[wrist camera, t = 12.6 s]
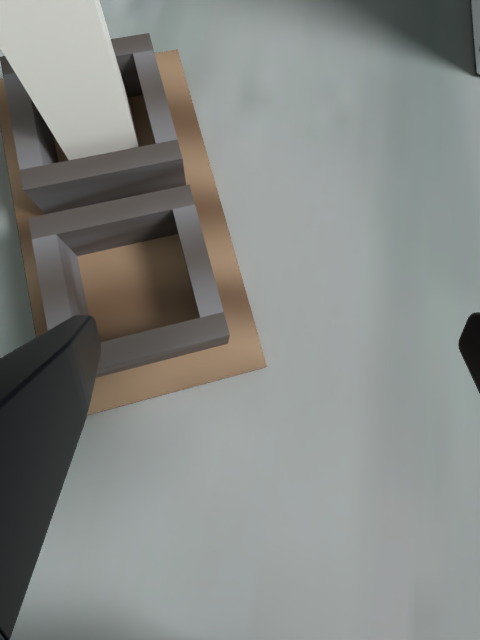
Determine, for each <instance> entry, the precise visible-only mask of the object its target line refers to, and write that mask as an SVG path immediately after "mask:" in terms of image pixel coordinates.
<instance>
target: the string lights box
mask: <svg viewBox="0 0 480 640" xmlns="http://www.w3.org/2000/svg"><path fill="white" fill-rule="evenodd" d="M471 5H472V18H473V32H474V44H475V57H476V70H477V73H478V74H479V75H480V0H471Z"/></svg>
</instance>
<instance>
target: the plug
mask: <svg viewBox="0 0 480 640" xmlns="http://www.w3.org/2000/svg"><path fill="white" fill-rule="evenodd" d="M0 49H1V50H2V52H3V54H4V55H5V57H6V59H7V60H8V62H9V63H10V65H11V67H12V68H13V70H14V72H15V73H16V75H17V77H18V78H19V80H20V81H21V83H22V85H23V86H24V88H25V90H26V91H27V93H28V94H29V96H30V98H31V99H32V101H33V103H34V104H35V106H36V108H37V109H38V111H39V112H40V114H41V116H42V117H43V119H44V121H45V122H46V124H47V126H48V127H49V129H50V130H51V132H52V134H53V135H54V137H55V139H56V140H57V142H58V143H59V145H60V147H61V148H62V150H63V152H64V153H65V155H66V157H67V158H68V160H74V159H79V158H84V157H89V156H94V155H99V154H105V153H110V152H115V151H120V150H125V149H130V148H136V147H140V145H139V141H138V137H137V132H136V128H135V124H134V120H133V115H132V111H131V108H130V104H129V101H128V97H127V94H126V90H125V87H124V84H123V80H122V77H121V73H120V70H119V66H118V63H117V60H116V56H115V53H114V49H113V46H112V42H111V39H110V36H109V32H108V29H107V25H106V22H105V18H104V15H103V12H102V8H101V5H100V1H99V0H0Z"/></svg>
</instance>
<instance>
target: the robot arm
mask: <svg viewBox="0 0 480 640" xmlns="http://www.w3.org/2000/svg"><path fill="white" fill-rule="evenodd" d="M459 350H460V352H461V354H462V357H463V359H464V361H465V363H466V365H467V367H468V369H469V372H470V374H471V376H472V378H473V380H474V382H475V384H476V387H477V389H478V391H479V393H480V312H477V313H473V314H471V315H470V316H469V318H468V320H467V322H466V325H465V327H464V329H463V332H462V334H461V336H460V339H459ZM100 354H101V344H100V339H99V335H98V330H97V325H96V321H95V319H94V317H93V316H91V315H75V316H72V317H71V318H69V319H67V320H66V321H64V322H62V323H60V324H59V325H57V326H55V327H54V328H52V329H50V330H48V331H47V332H45V333H43V334H41V335H40V336H38V337H36V338H35V339H33V340H31V341H29V342H28V343H26V344H24V345H23V346H21V347H19V348H17V349H16V350H14V351H12V352H11V353H9V354H7V355H5V356H4V357H2V358H0V640H10V637H11V634H12V631H13V628H14V626H15V623H16V620H17V617H18V614H19V611H20V608H21V605H22V602H23V600H24V597H25V594H26V591H27V588H28V585H29V582H30V579H31V576H32V573H33V571H34V568H35V565H36V562H37V559H38V556H39V553H40V550H41V547H42V545H43V542H44V539H45V536H46V533H47V530H48V527H49V524H50V521H51V519H52V516H53V513H54V510H55V507H56V504H57V501H58V498H59V495H60V493H61V490H62V487H63V484H64V481H65V478H66V475H67V472H68V469H69V466H70V464H71V461H72V458H73V455H74V452H75V449H76V446H77V443H78V440H79V438H80V435H81V432H82V429H83V426H84V423H85V420H86V417H87V414H88V411H89V407H90V402H91V398H92V393H93V388H94V384H95V379H96V374H97V369H98V364H99V359H100Z"/></svg>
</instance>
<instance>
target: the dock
mask: <svg viewBox="0 0 480 640" xmlns="http://www.w3.org/2000/svg"><path fill="white" fill-rule="evenodd" d="M111 42H112V46H113V49H114V53H115V56H116V60H117V63H118V66H119V70H120V73H121V77H122V80H123V84H124V87H125V90H126V94H127V97H128V101H129V104H130V108H131V111H132V115H133V120H134V124H135V128H136V132H137V137H138V141H139V145H140V147H136V148H130V149H125V150H120V151H115V152H110V153H105V154H99V155H94V156H89V157H84V158H79V159H74V160H68V158H67V157H66V155H65V153H64V152H63V150H62V148H61V147H60V145H59V143H58V142H57V140H56V139H55V137H54V135H53V134H52V132H51V130H50V129H49V127H48V126H47V124H46V122H45V121H44V119H43V117H42V116H41V114H40V112H39V111H38V109H37V108H36V106H35V104H34V103H33V101H32V99H31V98H30V96H29V94H28V93H27V91H26V90H25V88H24V86H23V85H22V83H21V81H20V80H19V78H18V77H17V75H16V73H15V72H14V70H13V68H12V67H11V65H10V63H9V62H8V60H7V59H6V57H5V56H3V57H0V61H1V67H2V72H3V79H0V126H1V132H2V138H3V144H4V150H5V156H6V161H7V167H8V173H9V179H10V185H11V191H12V197H13V203H14V209H15V215H16V221H17V227H18V233H19V238H20V244H21V250H22V256H23V262H24V268H25V274H26V280H27V286H28V292H29V298H30V304H31V310H32V315H33V321H34V327H35V333H36V337H38V336H40V335H41V334H43V333H45V332H47V331H48V330H50V329H52V328H54V327H55V326H57V325H59V324H60V323H62V322H64V321H66V320H67V319H69V318H71V317H72V316H75V315H91V316H93V317H94V319H95V321H96V325H97V330H98V335H99V339H100V344H101V354H100V359H99V364H98V369H97V374H96V379H95V384H94V388H93V393H92V398H91V402H90V407H89V411H88V414H87V415H91V414H94V413H98V412H102V411H106V410H109V409H113V408H117V407H120V406H124V405H128V404H132V403H135V402H139V401H143V400H146V399H150V398H154V397H158V396H161V395H165V394H169V393H172V392H176V391H180V390H184V389H187V388H191V387H195V386H198V385H202V384H206V383H210V382H213V381H217V380H221V379H224V378H228V377H232V376H236V375H239V374H243V373H247V372H250V371H254V370H258V369H262V368H265V367H266V366H267V365H266V362H265V358H264V354H263V351H262V347H261V344H260V340H259V337H258V333H257V330H256V326H255V323H254V319H253V315H252V312H251V308H250V305H249V301H248V298H247V294H246V291H245V287H244V284H243V280H242V277H241V273H240V269H239V266H238V262H237V259H236V255H235V252H234V248H233V245H232V241H231V238H230V234H229V231H228V227H227V223H226V220H225V216H224V213H223V209H222V206H221V202H220V199H219V195H218V192H217V188H216V185H215V181H214V177H213V174H212V170H211V167H210V163H209V160H208V156H207V153H206V149H205V146H204V142H203V138H202V135H201V131H200V128H199V124H198V121H197V117H196V114H195V110H194V107H193V103H192V100H191V96H190V92H189V89H188V85H187V82H186V78H185V75H184V71H183V68H182V64H181V61H180V57H179V54H178V50H172V51H166V52H160V53H154V50H153V46H152V42H151V39H150V35H149V33H147V34H141V35H135V36H128V37H122V38H116V39H111Z"/></svg>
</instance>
